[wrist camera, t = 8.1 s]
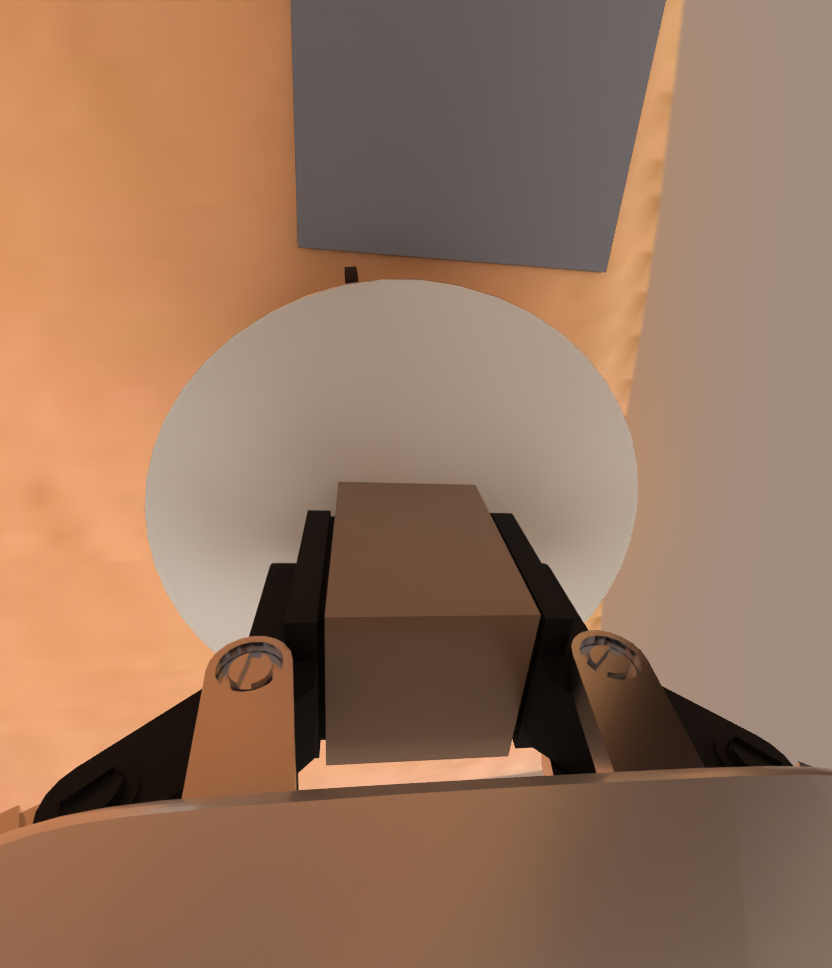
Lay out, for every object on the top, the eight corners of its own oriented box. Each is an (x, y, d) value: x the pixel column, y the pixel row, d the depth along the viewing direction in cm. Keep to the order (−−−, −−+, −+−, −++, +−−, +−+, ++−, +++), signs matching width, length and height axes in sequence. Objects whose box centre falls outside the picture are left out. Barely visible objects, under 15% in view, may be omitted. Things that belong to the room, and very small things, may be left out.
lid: (116, 255, 10) (-157, 253, 5) (677, 298, 12) (942, 332, 6) (192, 693, 16) (104, 920, 10) (569, 681, 17) (662, 873, 12)
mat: (285, -249, 15) (283, -265, 15) (695, -164, 17) (704, -176, 16) (299, 247, 21) (297, 247, 20) (601, 271, 23) (605, 272, 22)
